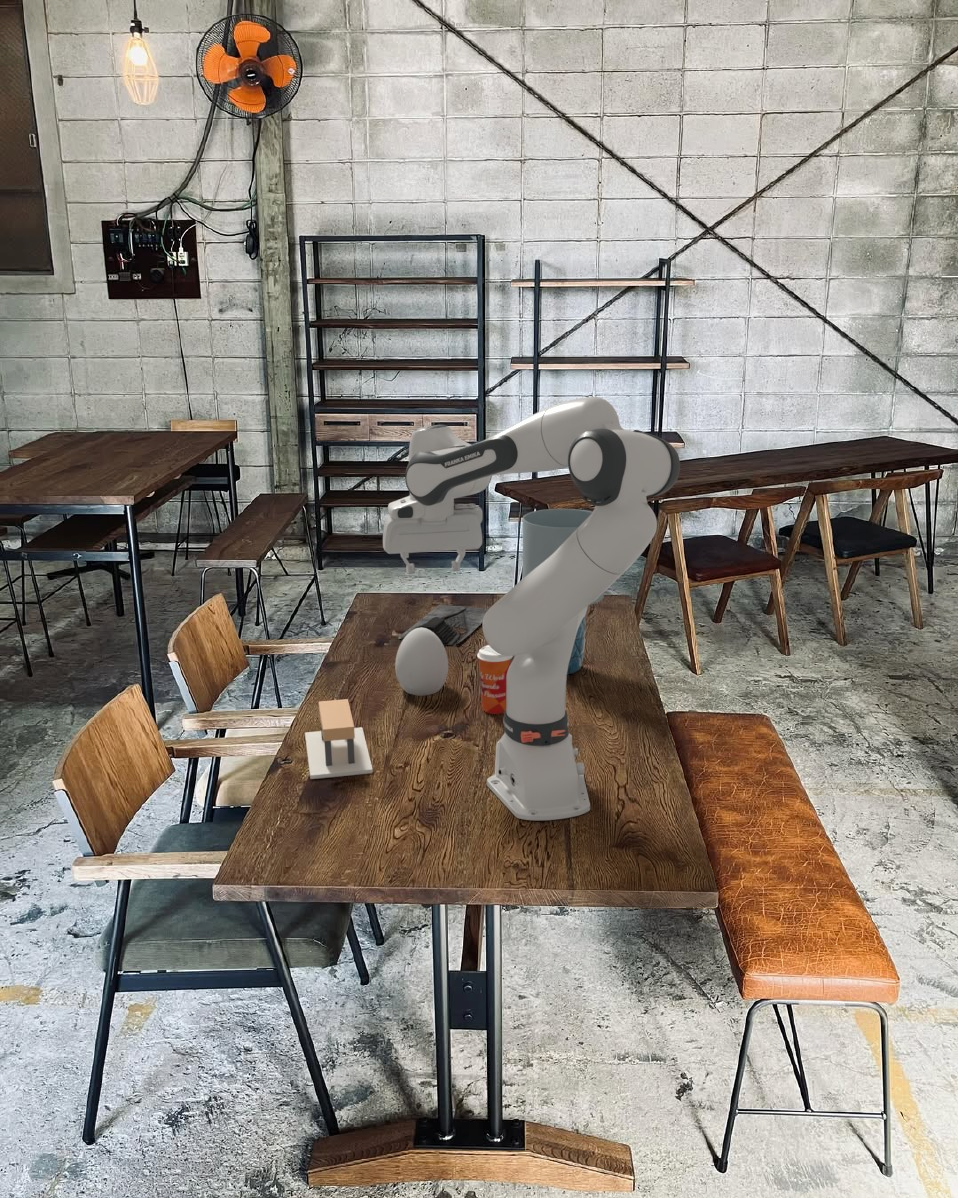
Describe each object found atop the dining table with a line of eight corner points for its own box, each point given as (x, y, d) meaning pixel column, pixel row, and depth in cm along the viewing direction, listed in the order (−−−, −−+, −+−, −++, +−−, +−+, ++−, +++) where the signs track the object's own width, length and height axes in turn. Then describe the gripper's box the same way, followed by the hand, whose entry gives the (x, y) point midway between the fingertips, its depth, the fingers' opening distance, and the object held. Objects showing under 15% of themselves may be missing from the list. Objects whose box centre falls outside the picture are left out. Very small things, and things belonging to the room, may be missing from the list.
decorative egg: (436, 676, 254) (434, 616, 250) (457, 693, 243) (456, 632, 239) (388, 684, 249) (386, 624, 245) (407, 703, 238) (405, 640, 234)
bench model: (320, 737, 220) (318, 701, 217) (349, 734, 221) (347, 699, 218) (325, 767, 207) (323, 729, 204) (355, 764, 208) (354, 726, 205)
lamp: (540, 650, 270) (541, 505, 258) (612, 662, 262) (617, 513, 250) (509, 676, 253) (509, 522, 242) (584, 689, 245) (588, 531, 234)
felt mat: (372, 773, 206) (372, 769, 206) (310, 779, 204) (310, 775, 203) (362, 730, 225) (362, 727, 224) (305, 736, 222) (304, 732, 222)
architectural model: (457, 654, 273) (493, 625, 301) (459, 632, 271) (496, 604, 299) (396, 640, 278) (437, 613, 306) (398, 618, 276) (439, 592, 304)
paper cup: (471, 712, 233) (470, 652, 229) (487, 699, 240) (487, 641, 236) (503, 718, 230) (503, 658, 226) (518, 706, 236) (518, 647, 232)
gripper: (479, 499, 218) (479, 564, 222) (380, 504, 214) (382, 570, 218) (485, 506, 212) (486, 572, 216) (384, 511, 208) (386, 578, 212)
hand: (433, 571), depth 217 cm, fingers open, 8 cm apart
